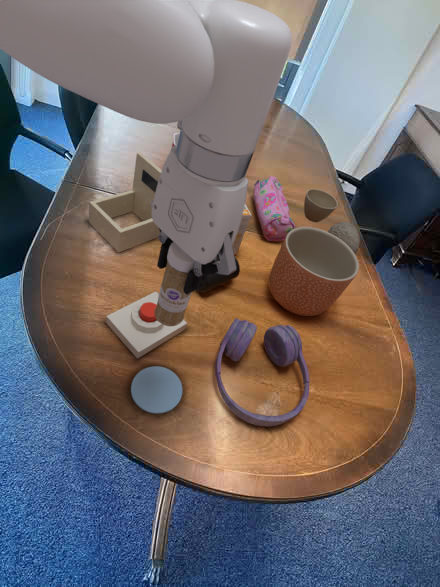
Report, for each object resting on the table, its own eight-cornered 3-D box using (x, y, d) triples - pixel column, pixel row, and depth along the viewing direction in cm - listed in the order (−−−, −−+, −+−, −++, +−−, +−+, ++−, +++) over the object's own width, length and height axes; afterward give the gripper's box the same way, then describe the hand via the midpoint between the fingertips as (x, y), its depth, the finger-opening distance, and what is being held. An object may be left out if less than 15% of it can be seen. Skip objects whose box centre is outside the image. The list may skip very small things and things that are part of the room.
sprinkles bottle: (152, 325, 56) (168, 258, 46) (155, 301, 59) (170, 234, 50) (183, 329, 57) (205, 265, 47) (184, 306, 60) (205, 241, 51)
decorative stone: (315, 240, 113) (330, 212, 106) (340, 244, 115) (357, 217, 108) (324, 264, 106) (342, 237, 99) (351, 268, 108) (370, 241, 101)
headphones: (211, 327, 80) (210, 426, 69) (221, 307, 73) (222, 413, 62) (292, 338, 84) (304, 433, 73) (309, 319, 77) (325, 421, 66)
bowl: (319, 208, 126) (329, 190, 121) (331, 228, 120) (343, 209, 114) (292, 206, 122) (302, 187, 117) (304, 226, 116) (314, 207, 111)
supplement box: (230, 243, 101) (245, 202, 92) (236, 256, 98) (252, 214, 89) (200, 243, 98) (213, 201, 89) (206, 256, 95) (220, 214, 86)
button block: (137, 359, 71) (139, 346, 68) (105, 322, 74) (106, 309, 72) (185, 329, 78) (189, 317, 76) (154, 297, 82) (157, 285, 79)
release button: (147, 325, 72) (148, 319, 71) (135, 312, 73) (136, 307, 72) (162, 317, 74) (163, 311, 73) (150, 305, 76) (151, 299, 74)
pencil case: (248, 196, 119) (258, 170, 113) (276, 202, 121) (287, 177, 115) (256, 241, 105) (268, 214, 98) (288, 247, 107) (301, 221, 101)
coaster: (152, 424, 64) (153, 423, 63) (120, 384, 67) (120, 383, 67) (192, 394, 69) (192, 393, 69) (160, 359, 72) (160, 357, 72)
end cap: (203, 300, 85) (210, 279, 80) (183, 279, 88) (189, 257, 83) (234, 284, 91) (243, 264, 86) (215, 265, 94) (223, 244, 89)
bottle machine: (118, 252, 88) (124, 193, 77) (88, 222, 92) (90, 162, 81) (162, 235, 96) (173, 180, 85) (133, 208, 100) (140, 151, 89)
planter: (333, 293, 99) (364, 249, 88) (318, 338, 87) (352, 293, 76) (273, 263, 101) (297, 216, 90) (251, 302, 89) (275, 254, 78)
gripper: (133, 116, 40) (118, 247, 52) (251, 209, 34) (202, 331, 47) (186, 109, 44) (161, 231, 57) (297, 190, 39) (242, 306, 51)
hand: (180, 275), depth 52 cm, fingers closed on sprinkles bottle, 4 cm apart
